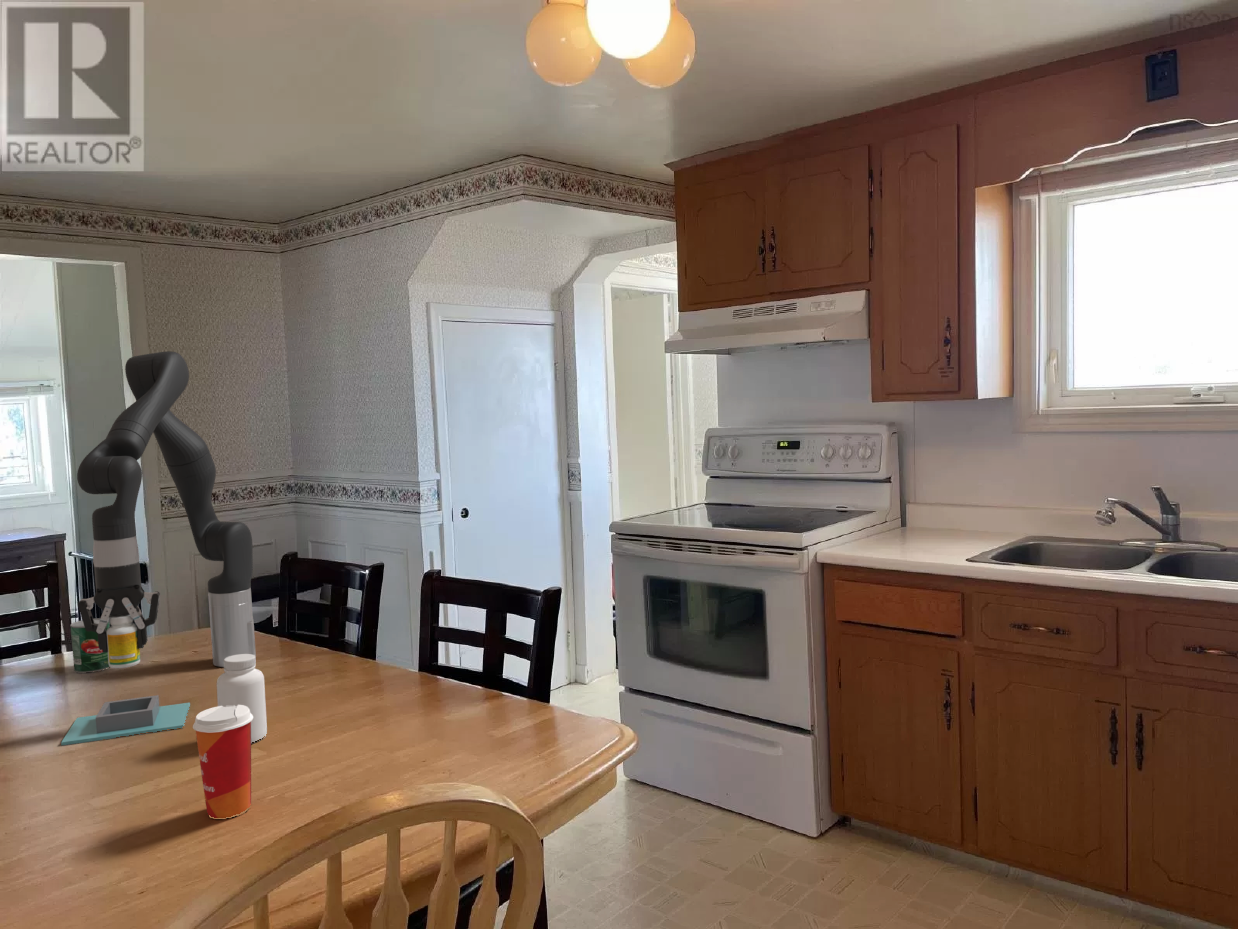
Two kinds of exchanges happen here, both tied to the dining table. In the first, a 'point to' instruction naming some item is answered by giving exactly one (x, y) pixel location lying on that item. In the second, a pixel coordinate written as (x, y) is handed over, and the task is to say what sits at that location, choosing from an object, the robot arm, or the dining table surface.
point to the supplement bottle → (122, 642)
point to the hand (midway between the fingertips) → (123, 649)
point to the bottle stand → (127, 720)
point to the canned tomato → (87, 649)
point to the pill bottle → (244, 690)
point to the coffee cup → (225, 758)
